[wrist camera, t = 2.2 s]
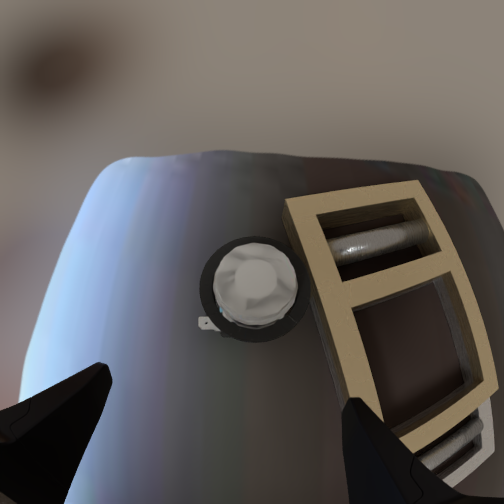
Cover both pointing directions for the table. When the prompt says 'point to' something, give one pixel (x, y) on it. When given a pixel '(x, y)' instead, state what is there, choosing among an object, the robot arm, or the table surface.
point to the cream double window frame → (388, 287)
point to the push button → (254, 290)
